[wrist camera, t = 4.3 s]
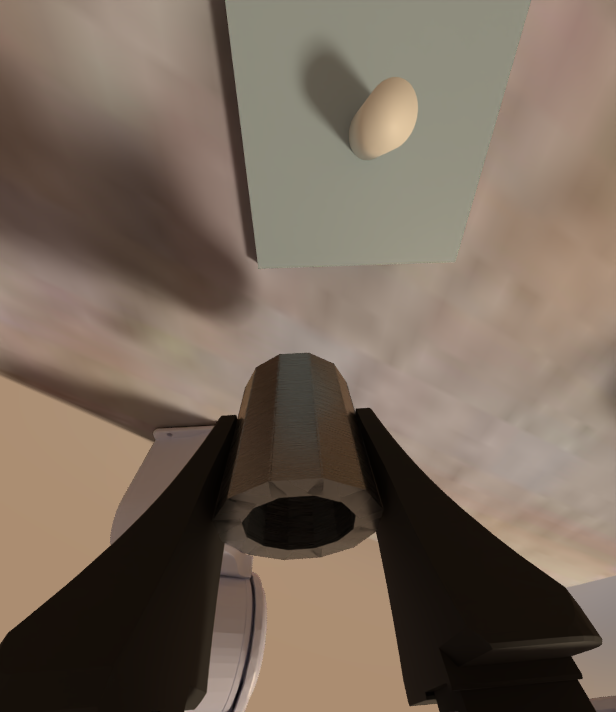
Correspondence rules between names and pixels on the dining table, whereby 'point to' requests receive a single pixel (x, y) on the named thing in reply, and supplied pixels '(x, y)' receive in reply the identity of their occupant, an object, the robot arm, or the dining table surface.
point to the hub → (297, 465)
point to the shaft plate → (318, 102)
